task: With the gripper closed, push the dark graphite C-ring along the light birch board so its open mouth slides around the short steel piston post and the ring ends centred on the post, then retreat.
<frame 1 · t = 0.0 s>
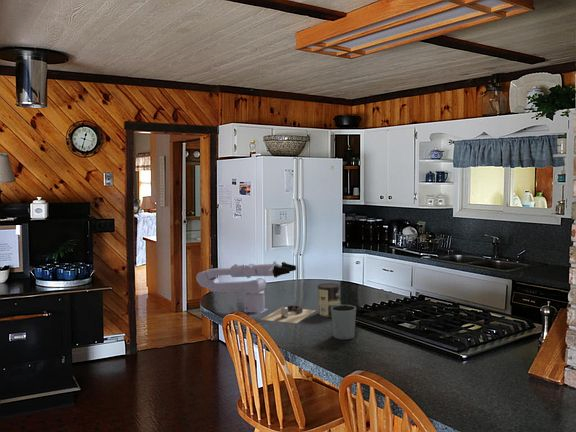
hand: (292, 269, 268), 22 cm above the countertop, tool horizontal, fingers open, 7 cm apart
coffee can: (329, 315, 268), on the countertop
board: (289, 316, 267), on the countertop
c ring: (293, 312, 272), point 1 cm above the countertop, touching board
grey cup: (343, 336, 234), on the countertop
piston post: (284, 317, 263), resting on board
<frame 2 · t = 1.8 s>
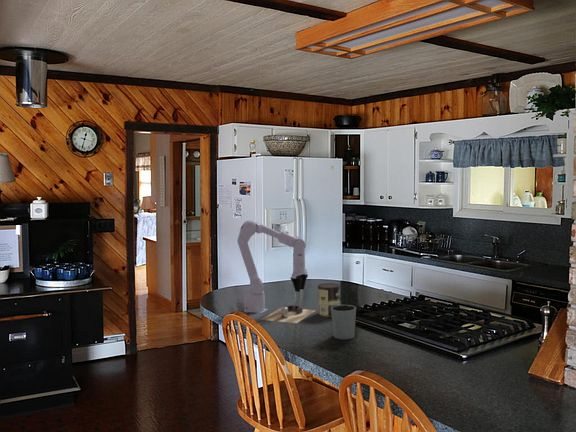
hand: (299, 290, 279), 9 cm above the countertop, tool pointing down, fingers open, 5 cm apart
nothing on the countertop moved.
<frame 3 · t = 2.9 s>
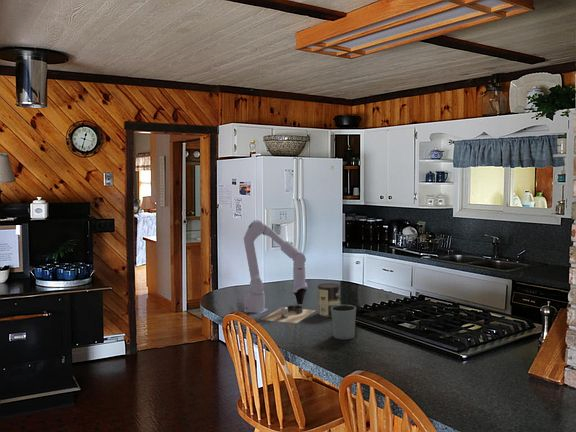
hand: (300, 304, 280), 3 cm above the countertop, tool pointing down, fingers closed
nothing on the countertop moved.
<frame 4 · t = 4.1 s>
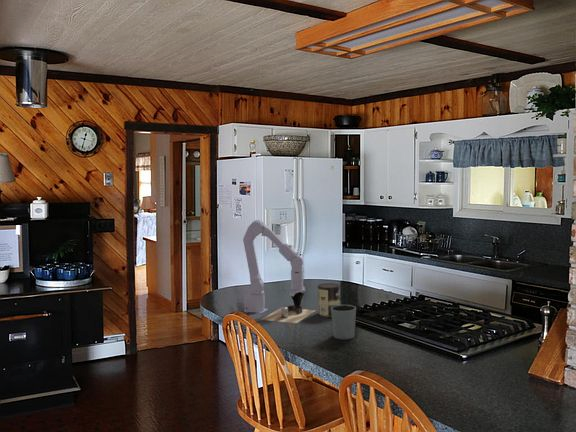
hand: (297, 307, 277), 1 cm above the countertop, tool pointing down, fingers closed
c ring: (293, 312, 272), point 1 cm above the countertop, touching board, gripper
everything else where it was.
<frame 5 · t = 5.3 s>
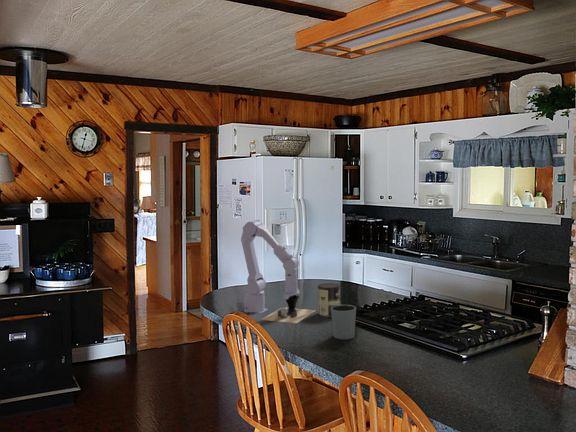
hand: (292, 311, 271), 1 cm above the countertop, tool pointing down, fingers closed
c ring: (287, 315, 266), point 1 cm above the countertop, touching board, gripper
everything else where it was.
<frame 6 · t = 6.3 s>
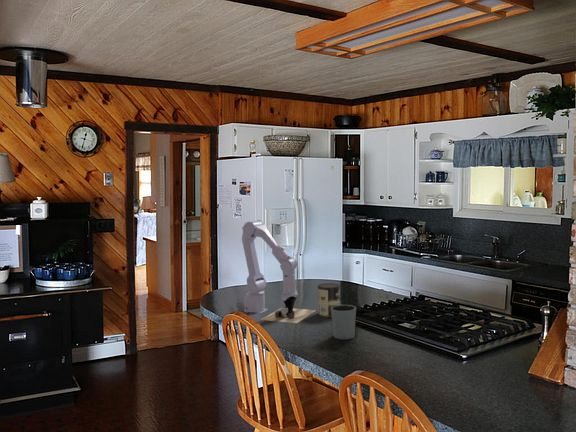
hand: (289, 312, 268), 1 cm above the countertop, tool pointing down, fingers closed
c ring: (285, 317, 263), point 1 cm above the countertop, touching board, gripper
everything else where it was.
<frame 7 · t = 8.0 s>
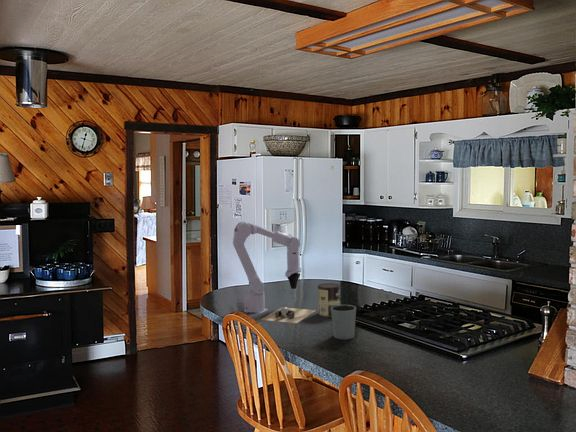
hand: (293, 288, 281), 10 cm above the countertop, tool pointing down, fingers closed
c ring: (285, 317, 263), point 1 cm above the countertop, touching board
everything else where it was.
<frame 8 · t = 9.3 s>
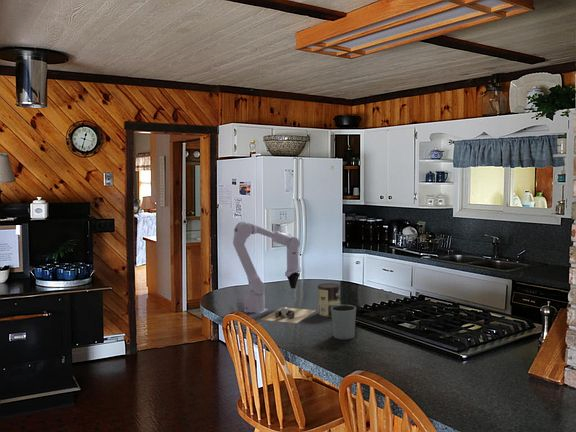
hand: (293, 288, 282), 10 cm above the countertop, tool pointing down, fingers closed
nothing on the countertop moved.
at the end: c ring 0.5 cm from the piston post (horizontally); c ring point 0.6 cm above the countertop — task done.
